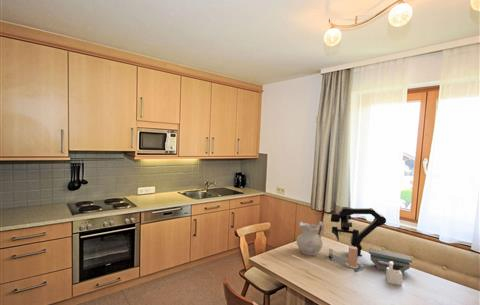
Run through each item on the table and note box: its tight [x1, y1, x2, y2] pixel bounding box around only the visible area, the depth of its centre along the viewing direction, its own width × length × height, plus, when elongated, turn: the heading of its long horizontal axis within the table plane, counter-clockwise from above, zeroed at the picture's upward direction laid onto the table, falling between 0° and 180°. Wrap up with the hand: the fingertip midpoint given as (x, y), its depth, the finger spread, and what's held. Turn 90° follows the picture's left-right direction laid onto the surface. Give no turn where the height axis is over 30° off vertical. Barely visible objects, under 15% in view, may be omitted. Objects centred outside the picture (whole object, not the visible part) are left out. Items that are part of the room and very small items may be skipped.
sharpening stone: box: [368, 247, 413, 274], centre depth 170 cm, size 25×8×11 cm, turn 63°
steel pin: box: [328, 248, 334, 257], centre depth 184 cm, size 2×2×6 cm
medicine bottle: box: [385, 261, 403, 286], centre depth 154 cm, size 7×7×12 cm
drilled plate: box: [325, 254, 364, 273], centre depth 176 cm, size 11×23×1 cm, turn 42°
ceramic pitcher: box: [296, 220, 325, 256], centre depth 191 cm, size 22×20×25 cm
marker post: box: [347, 245, 358, 267], centre depth 172 cm, size 5×5×12 cm
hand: (345, 242), depth 181 cm, fingers open, 9 cm apart
